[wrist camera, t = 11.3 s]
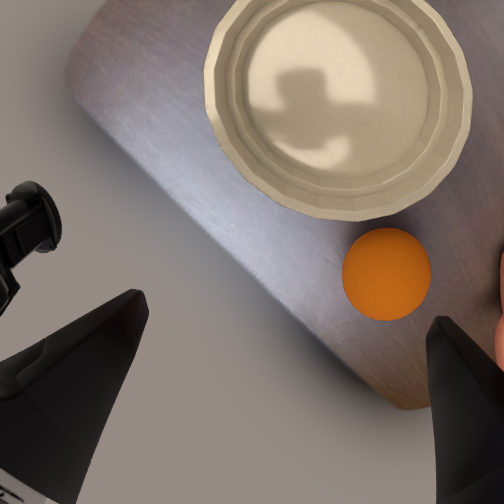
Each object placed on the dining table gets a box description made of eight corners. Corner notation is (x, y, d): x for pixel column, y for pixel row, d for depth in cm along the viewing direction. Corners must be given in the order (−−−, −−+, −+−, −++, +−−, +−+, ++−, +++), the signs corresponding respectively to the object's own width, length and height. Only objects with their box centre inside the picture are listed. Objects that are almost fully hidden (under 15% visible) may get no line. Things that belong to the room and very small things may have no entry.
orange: (335, 280, 23) (336, 337, 18) (344, 208, 20) (353, 255, 15) (407, 285, 22) (424, 341, 17) (425, 216, 19) (455, 263, 14)
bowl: (231, 186, 21) (212, 213, 17) (224, -9, 14) (200, -30, 10) (427, 201, 19) (450, 231, 15) (440, 8, 12) (470, -5, 8)
